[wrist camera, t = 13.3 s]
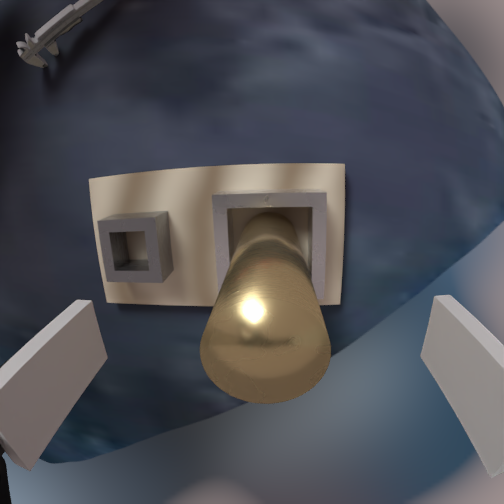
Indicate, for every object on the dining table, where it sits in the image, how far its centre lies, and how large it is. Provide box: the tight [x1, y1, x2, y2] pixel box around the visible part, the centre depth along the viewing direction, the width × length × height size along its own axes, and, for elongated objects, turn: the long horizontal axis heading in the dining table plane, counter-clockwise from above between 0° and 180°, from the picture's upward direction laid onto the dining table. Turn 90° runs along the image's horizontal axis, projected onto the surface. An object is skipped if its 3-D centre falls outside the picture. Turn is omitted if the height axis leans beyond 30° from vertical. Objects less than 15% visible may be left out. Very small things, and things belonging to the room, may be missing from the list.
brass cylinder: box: [200, 212, 331, 404], centre depth 18 cm, size 4×4×16 cm
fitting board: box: [89, 163, 345, 306], centre depth 25 cm, size 22×12×4 cm, turn 92°
